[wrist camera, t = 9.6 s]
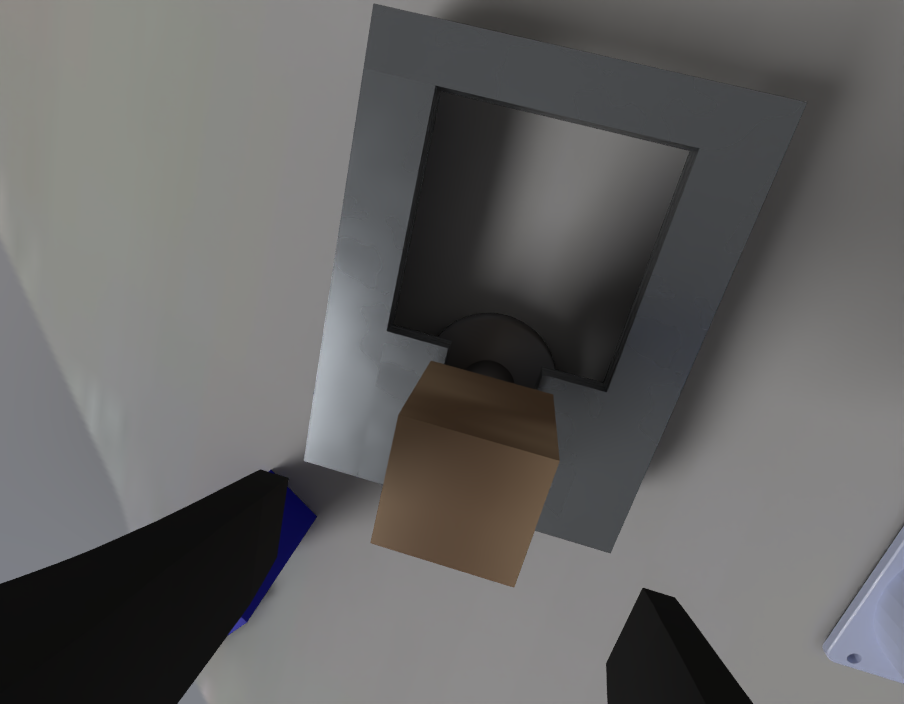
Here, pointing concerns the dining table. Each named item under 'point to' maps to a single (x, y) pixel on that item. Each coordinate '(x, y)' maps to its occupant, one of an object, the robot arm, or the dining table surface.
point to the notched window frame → (660, 292)
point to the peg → (473, 453)
